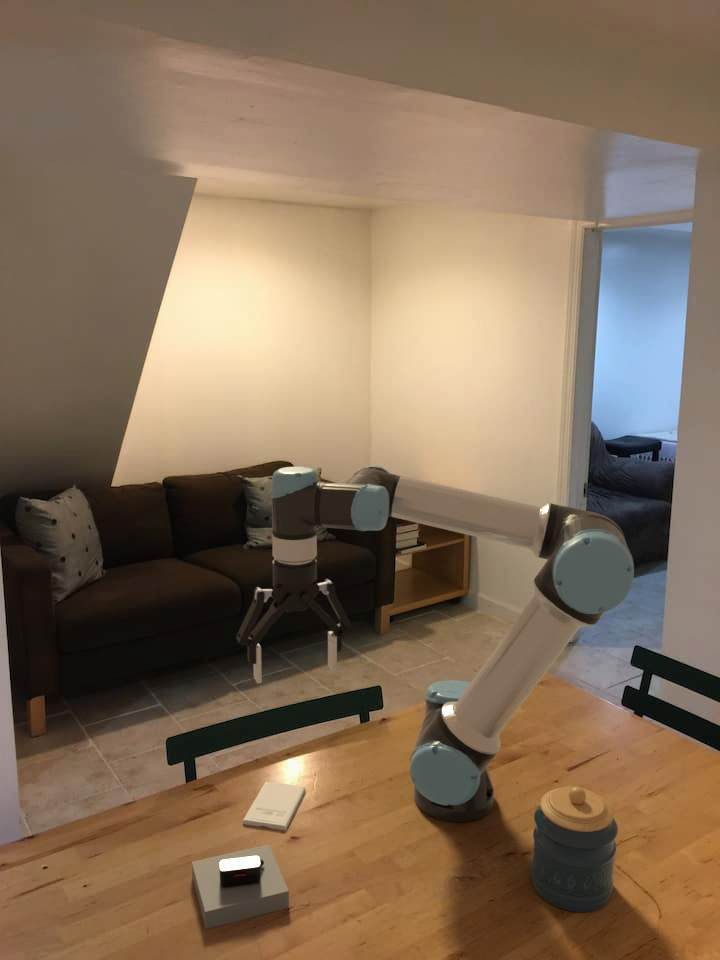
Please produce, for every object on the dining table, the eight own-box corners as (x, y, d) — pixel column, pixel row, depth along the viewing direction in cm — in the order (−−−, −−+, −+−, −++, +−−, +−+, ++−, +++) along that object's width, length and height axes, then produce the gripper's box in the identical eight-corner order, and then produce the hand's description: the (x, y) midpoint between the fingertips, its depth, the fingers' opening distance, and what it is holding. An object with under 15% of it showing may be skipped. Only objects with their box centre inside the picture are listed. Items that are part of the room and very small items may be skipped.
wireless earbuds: (266, 884, 129) (266, 865, 128) (220, 890, 128) (219, 871, 127) (263, 864, 133) (263, 847, 133) (219, 870, 132) (218, 852, 131)
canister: (599, 926, 125) (607, 823, 121) (518, 894, 132) (524, 795, 128) (621, 877, 136) (630, 781, 132) (546, 849, 142) (552, 757, 139)
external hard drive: (305, 794, 159) (285, 833, 147) (265, 788, 161) (242, 826, 149) (305, 786, 159) (285, 825, 147) (265, 781, 160) (242, 818, 148)
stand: (269, 859, 139) (269, 844, 139) (288, 907, 128) (288, 890, 128) (192, 877, 135) (191, 861, 134) (205, 929, 124) (205, 911, 123)
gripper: (355, 545, 147) (354, 655, 152) (217, 559, 139) (220, 675, 143) (371, 557, 140) (369, 672, 145) (226, 572, 132) (229, 694, 136)
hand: (295, 674), depth 144 cm, fingers open, 13 cm apart
